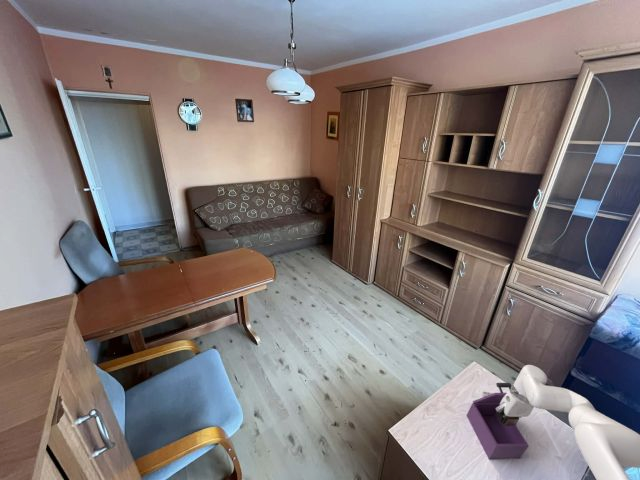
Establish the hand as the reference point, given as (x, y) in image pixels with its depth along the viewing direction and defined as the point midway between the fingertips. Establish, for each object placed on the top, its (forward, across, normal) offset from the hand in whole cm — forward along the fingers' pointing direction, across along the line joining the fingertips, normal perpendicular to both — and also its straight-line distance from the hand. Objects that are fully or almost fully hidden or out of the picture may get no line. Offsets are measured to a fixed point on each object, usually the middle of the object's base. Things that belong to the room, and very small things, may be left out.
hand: (506, 419), depth 111 cm
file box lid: (-3, 0, +7) cm, 8 cm away
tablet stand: (+16, +11, +17) cm, 26 cm away
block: (0, 0, 0) cm, 0 cm away
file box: (+16, 0, +2) cm, 16 cm away
